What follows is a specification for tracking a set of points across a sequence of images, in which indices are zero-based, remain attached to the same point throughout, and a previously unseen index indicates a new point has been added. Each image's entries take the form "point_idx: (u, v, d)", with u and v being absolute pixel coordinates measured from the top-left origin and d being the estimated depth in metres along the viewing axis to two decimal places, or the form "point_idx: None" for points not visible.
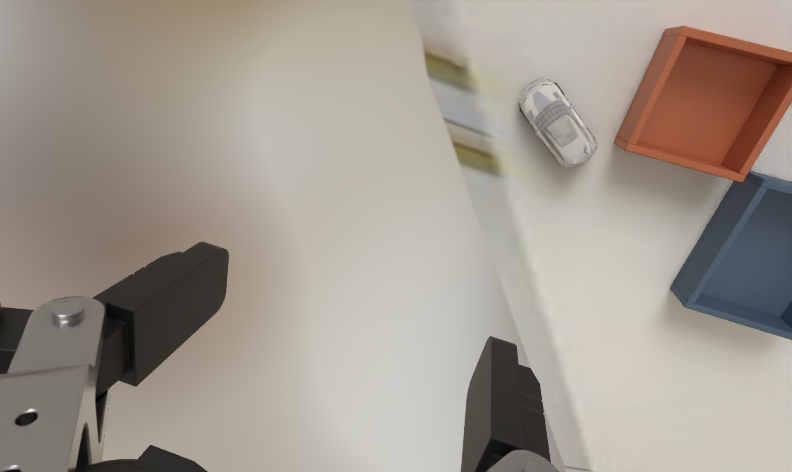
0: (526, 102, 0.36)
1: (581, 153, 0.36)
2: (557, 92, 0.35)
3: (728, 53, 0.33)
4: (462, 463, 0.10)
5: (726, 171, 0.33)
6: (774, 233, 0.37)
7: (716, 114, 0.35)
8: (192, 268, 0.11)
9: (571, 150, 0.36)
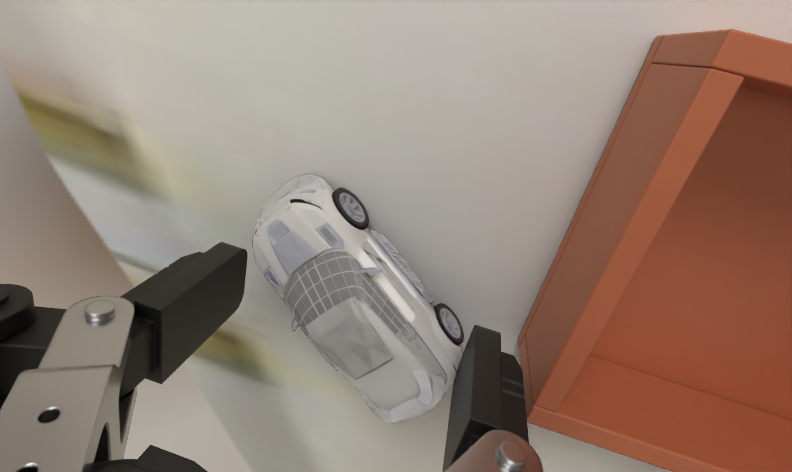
0: (255, 245, 0.13)
1: (410, 398, 0.12)
2: (330, 226, 0.12)
3: None
4: (446, 446, 0.11)
5: None
6: None
7: None
8: (214, 268, 0.11)
9: (382, 387, 0.12)
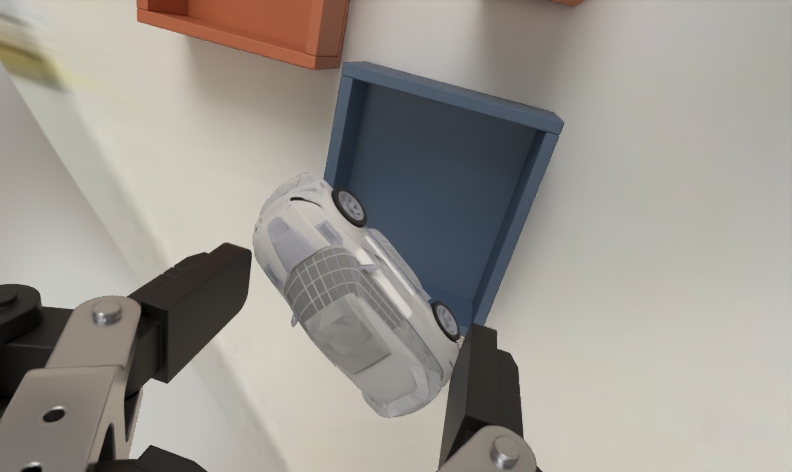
0: (255, 242, 0.13)
1: (406, 393, 0.12)
2: (329, 223, 0.12)
3: None
4: (442, 443, 0.11)
5: (285, 51, 0.20)
6: (430, 167, 0.24)
7: None
8: (219, 268, 0.11)
9: (380, 383, 0.13)
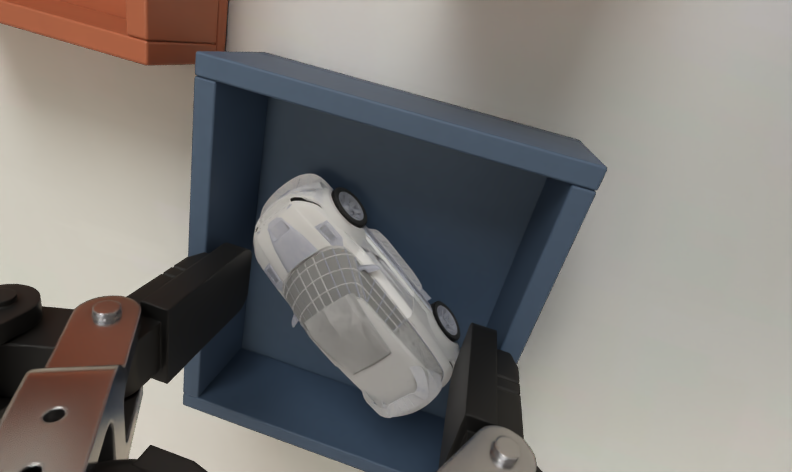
0: (256, 242, 0.13)
1: (407, 393, 0.13)
2: (330, 224, 0.12)
3: None
4: (442, 443, 0.11)
5: (94, 30, 0.11)
6: (377, 224, 0.15)
7: None
8: (219, 268, 0.11)
9: (380, 383, 0.13)
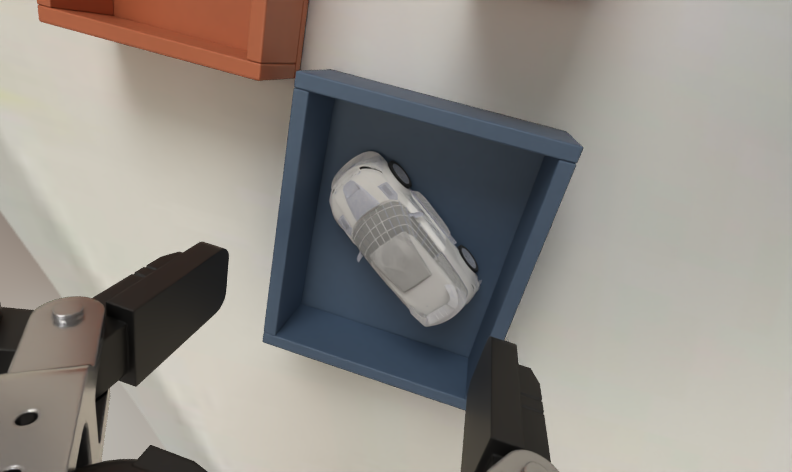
0: (333, 199, 0.18)
1: (442, 305, 0.18)
2: (388, 184, 0.17)
3: None
4: (462, 463, 0.10)
5: (222, 56, 0.15)
6: None
7: None
8: (192, 268, 0.11)
9: (422, 298, 0.18)
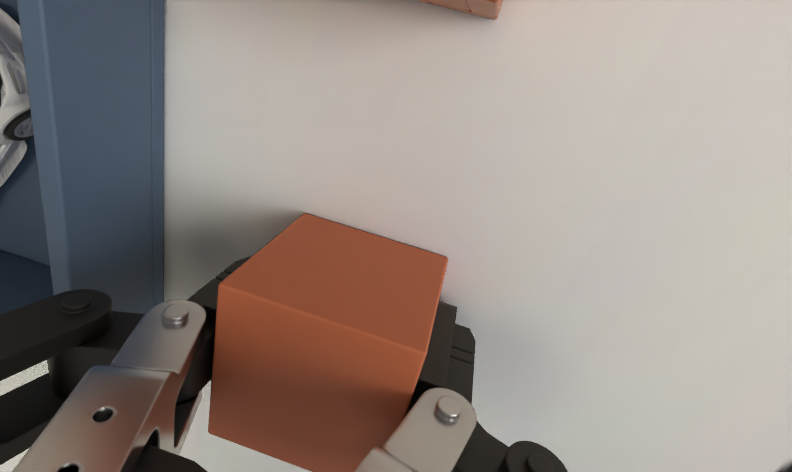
0: None
1: None
2: None
3: None
4: None
5: None
6: None
7: None
8: None
9: None
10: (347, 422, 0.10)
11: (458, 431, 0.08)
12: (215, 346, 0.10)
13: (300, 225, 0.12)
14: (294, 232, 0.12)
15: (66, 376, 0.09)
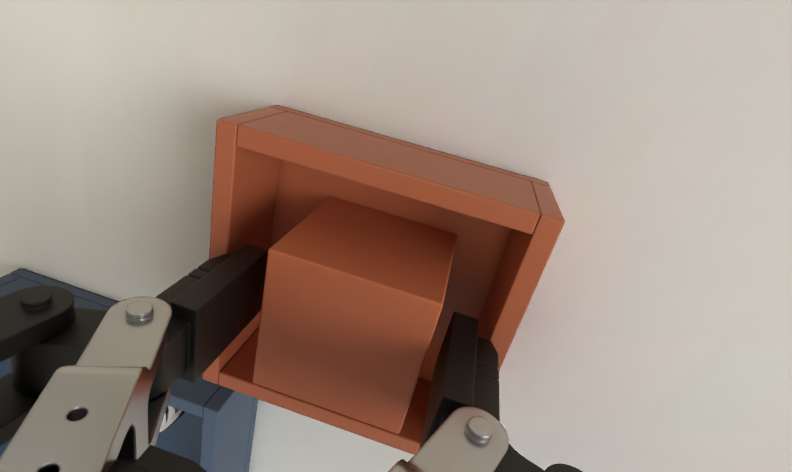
0: None
1: None
2: None
3: (479, 311, 0.15)
4: (423, 427, 0.11)
5: None
6: None
7: None
8: (243, 270, 0.11)
9: None
10: (375, 368, 0.11)
11: (491, 454, 0.08)
12: (263, 304, 0.11)
13: (328, 206, 0.14)
14: (324, 211, 0.13)
15: (30, 374, 0.09)
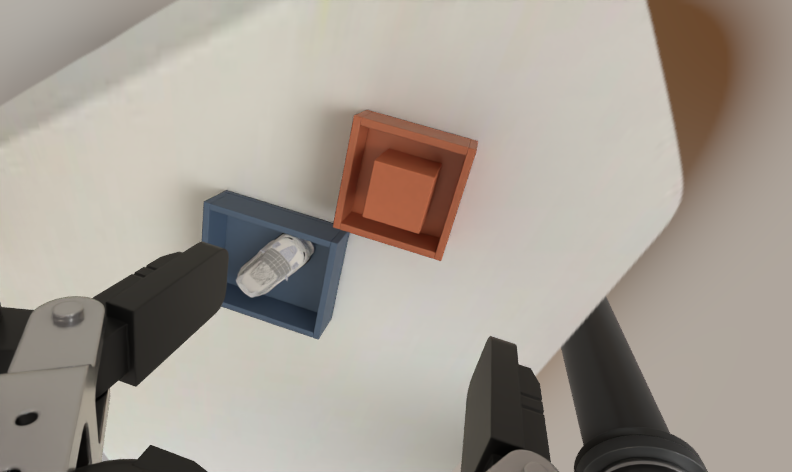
0: (287, 240, 0.38)
1: (247, 288, 0.39)
2: (298, 265, 0.39)
3: (451, 198, 0.35)
4: (462, 463, 0.10)
5: (341, 212, 0.34)
6: None
7: None
8: (192, 268, 0.11)
9: (248, 281, 0.39)
10: (410, 205, 0.31)
11: None
12: (370, 181, 0.31)
13: (389, 151, 0.34)
14: (388, 152, 0.33)
15: None
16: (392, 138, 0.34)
